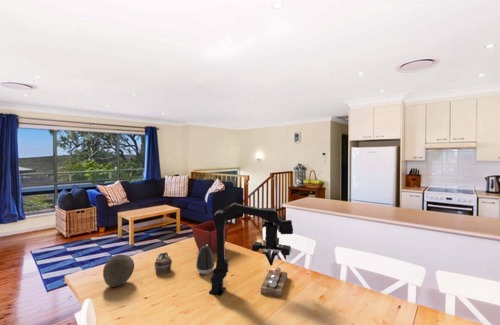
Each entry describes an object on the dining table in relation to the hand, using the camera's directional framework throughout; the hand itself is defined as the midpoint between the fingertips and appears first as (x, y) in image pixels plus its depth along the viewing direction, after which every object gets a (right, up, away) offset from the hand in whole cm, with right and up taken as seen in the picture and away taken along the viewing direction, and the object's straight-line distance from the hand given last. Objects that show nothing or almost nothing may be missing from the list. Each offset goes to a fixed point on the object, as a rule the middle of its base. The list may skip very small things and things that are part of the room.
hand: (271, 265), depth 122 cm
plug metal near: (0, -12, -1) cm, 12 cm away
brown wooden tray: (+2, -12, +5) cm, 13 cm away
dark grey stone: (-79, -13, +6) cm, 80 cm away
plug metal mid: (+2, -12, +5) cm, 13 cm away
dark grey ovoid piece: (-36, -12, +19) cm, 43 cm away
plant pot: (-38, -11, +52) cm, 66 cm away
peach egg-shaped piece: (+4, -10, +10) cm, 15 cm away
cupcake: (-61, -12, +21) cm, 65 cm away
